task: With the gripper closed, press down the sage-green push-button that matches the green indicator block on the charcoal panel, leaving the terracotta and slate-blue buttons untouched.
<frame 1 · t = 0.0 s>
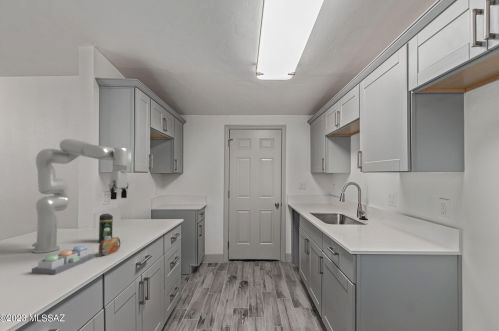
hand: (118, 198, 155), 31 cm above the countertop, tool pointing down, fingers open, 9 cm apart
coffee jar: (105, 241, 182), on the countertop
green button: (51, 259, 126), point 5 cm above the countertop, slide at 0.0 cm
slate button: (79, 250, 142), point 5 cm above the countertop, slide at 0.0 cm
button panel: (65, 264, 134), on the countertop
terracotta button: (66, 254, 134), point 5 cm above the countertop, slide at 0.0 cm
tin: (109, 253, 155), on the countertop
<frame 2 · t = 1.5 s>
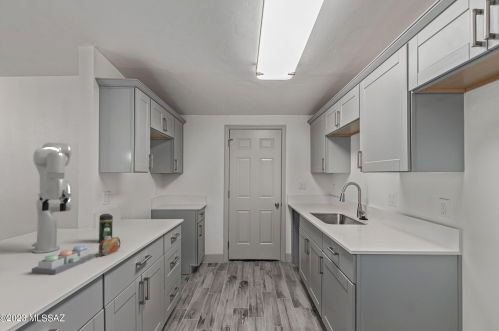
hand: (54, 210, 135), 27 cm above the countertop, tool pointing down, fingers open, 9 cm apart
nothing on the countertop moved.
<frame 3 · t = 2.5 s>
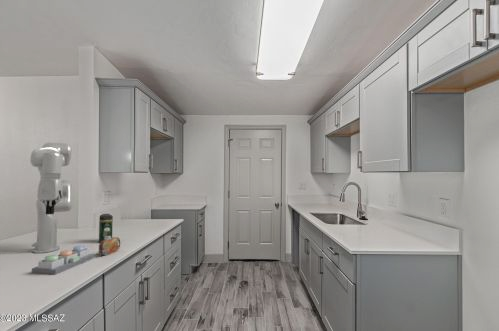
hand: (49, 213, 134), 25 cm above the countertop, tool pointing down, fingers closed
nothing on the countertop moved.
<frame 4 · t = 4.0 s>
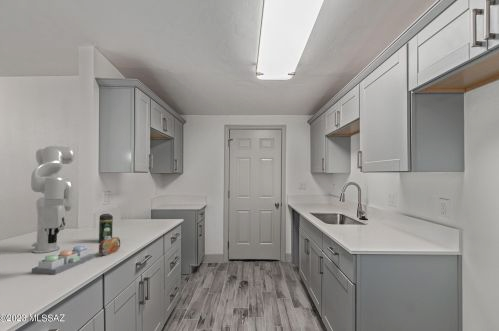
hand: (52, 242, 126), 13 cm above the countertop, tool pointing down, fingers closed
nothing on the countertop moved.
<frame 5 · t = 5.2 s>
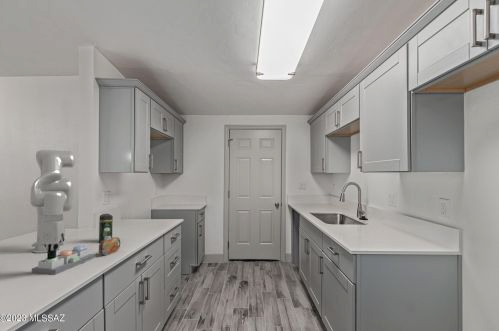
hand: (51, 258, 125), 6 cm above the countertop, tool pointing down, fingers closed
green button: (51, 261, 126), point 4 cm above the countertop, slide at 0.9 cm, touching gripper
everything else where it was.
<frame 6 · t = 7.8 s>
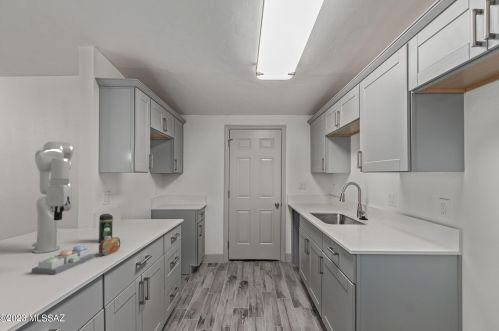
hand: (58, 219, 133), 22 cm above the countertop, tool pointing down, fingers closed
green button: (51, 262, 126), point 4 cm above the countertop, slide at 1.4 cm
everything else where it was.
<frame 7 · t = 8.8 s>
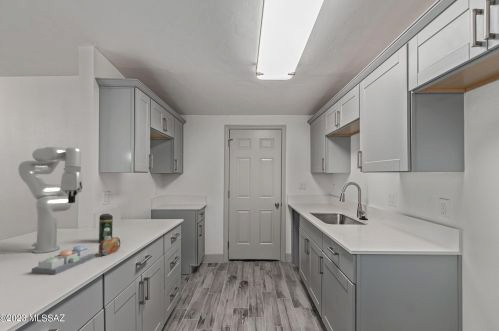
hand: (71, 202, 150), 29 cm above the countertop, tool pointing down, fingers closed
nothing on the countertop moved.
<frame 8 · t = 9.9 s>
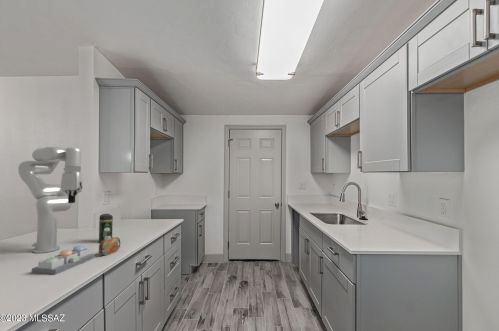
hand: (71, 202, 150), 29 cm above the countertop, tool pointing down, fingers closed
nothing on the countertop moved.
at the end: green button slide at 1.4 cm; terracotta button slide at 0.0 cm; slate button slide at 0.0 cm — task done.
